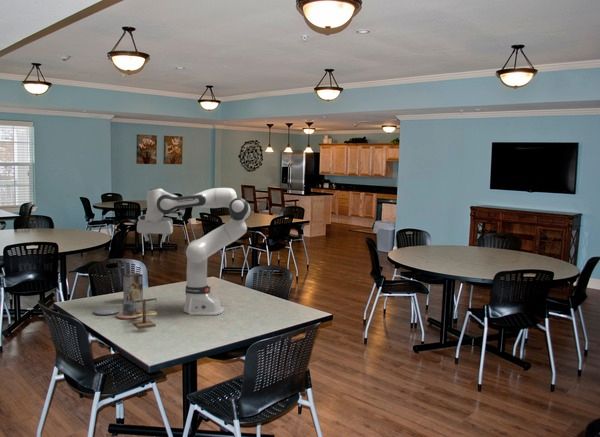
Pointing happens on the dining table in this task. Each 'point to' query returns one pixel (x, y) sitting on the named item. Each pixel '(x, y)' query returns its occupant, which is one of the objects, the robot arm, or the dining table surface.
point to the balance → (144, 322)
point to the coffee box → (133, 287)
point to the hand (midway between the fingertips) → (154, 241)
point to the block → (128, 308)
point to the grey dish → (106, 310)
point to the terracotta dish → (125, 316)
